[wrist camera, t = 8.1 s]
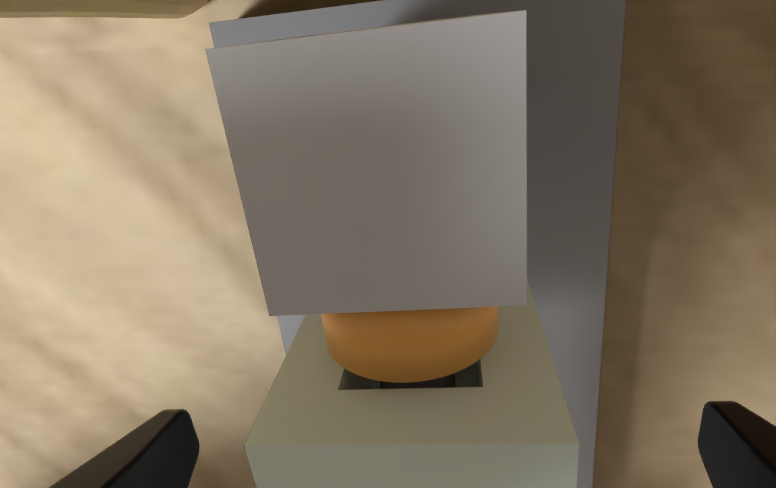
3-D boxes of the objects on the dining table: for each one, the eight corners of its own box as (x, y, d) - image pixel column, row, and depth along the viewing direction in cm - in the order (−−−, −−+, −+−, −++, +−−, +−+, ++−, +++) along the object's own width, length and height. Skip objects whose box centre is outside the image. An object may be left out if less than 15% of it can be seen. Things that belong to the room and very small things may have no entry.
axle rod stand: (573, 588, 20) (659, 974, 12) (354, 581, 22) (298, 926, 13) (606, -26, 12) (1000, -130, 3) (234, 22, 13) (-141, 31, 5)
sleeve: (526, 440, 11) (568, 651, 7) (347, 442, 11) (301, 637, 8) (527, 278, 9) (578, 444, 6) (317, 288, 10) (243, 445, 6)
